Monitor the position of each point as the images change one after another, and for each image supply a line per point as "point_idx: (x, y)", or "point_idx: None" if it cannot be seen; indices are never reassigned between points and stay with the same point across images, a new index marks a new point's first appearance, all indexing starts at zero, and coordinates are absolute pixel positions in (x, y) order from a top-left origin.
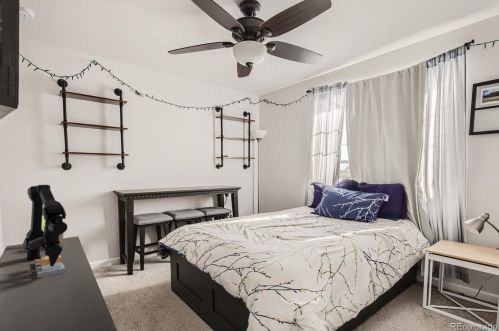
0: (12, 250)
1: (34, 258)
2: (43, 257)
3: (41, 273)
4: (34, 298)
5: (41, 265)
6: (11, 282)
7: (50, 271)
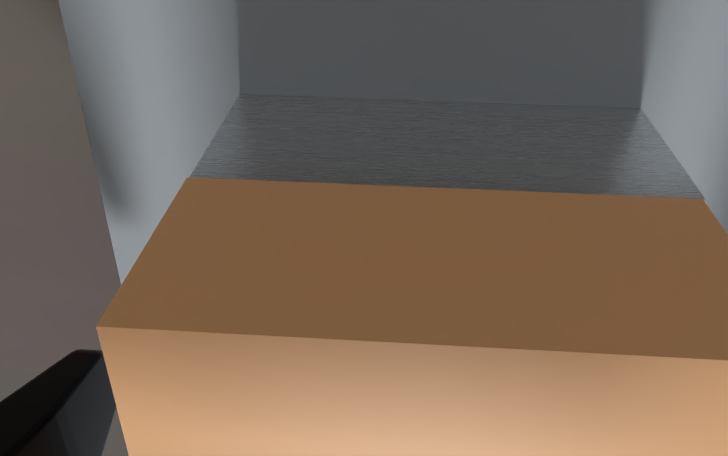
0: None
1: None
2: (648, 426)
3: (77, 67)
4: None
5: (402, 164)
6: None
7: (115, 256)
